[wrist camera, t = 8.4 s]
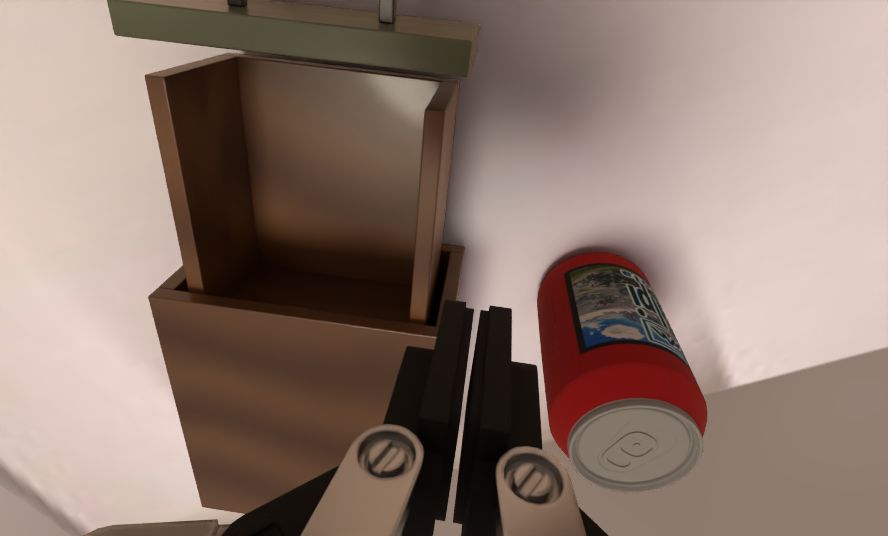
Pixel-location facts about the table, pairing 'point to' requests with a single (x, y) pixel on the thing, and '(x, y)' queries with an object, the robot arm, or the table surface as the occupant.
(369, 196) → the drawer
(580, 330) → the beverage can
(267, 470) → the cabinet
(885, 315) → the table surface
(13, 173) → the table surface
